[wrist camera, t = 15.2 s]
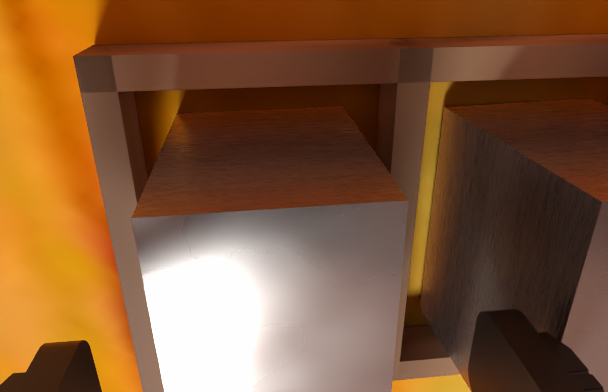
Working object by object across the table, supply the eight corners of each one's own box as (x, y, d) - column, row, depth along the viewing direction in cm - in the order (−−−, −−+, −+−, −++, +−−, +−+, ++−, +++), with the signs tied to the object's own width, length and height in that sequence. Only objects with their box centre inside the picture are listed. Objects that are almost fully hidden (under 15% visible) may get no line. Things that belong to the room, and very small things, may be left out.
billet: (342, 105, 13) (408, 200, 8) (337, 306, 16) (383, 472, 11) (177, 112, 13) (130, 218, 8) (204, 317, 16) (185, 496, 11)
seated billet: (588, 98, 14) (820, 180, 9) (539, 292, 17) (689, 440, 12) (443, 107, 13) (602, 202, 8) (419, 308, 16) (522, 473, 11)
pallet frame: (666, 32, 13) (717, 41, 12) (575, 328, 18) (603, 360, 17) (93, 44, 12) (73, 56, 10) (154, 365, 16) (145, 403, 15)
